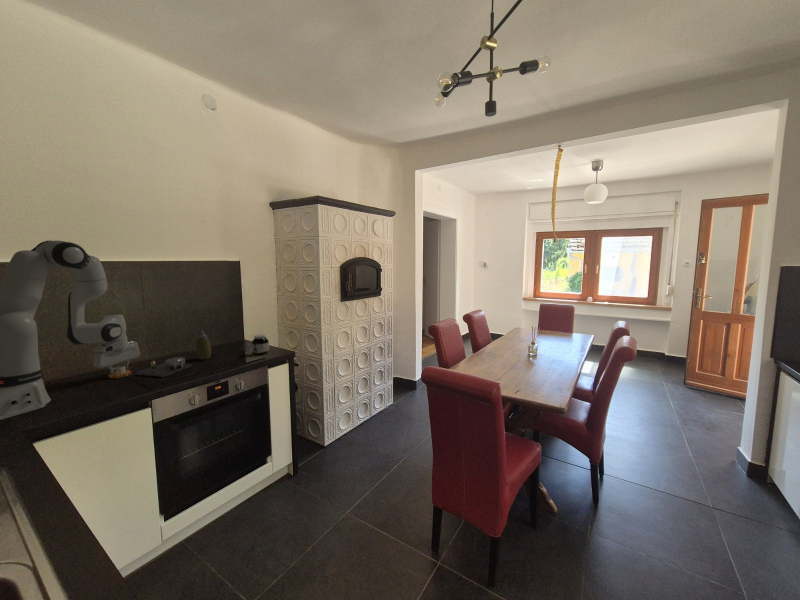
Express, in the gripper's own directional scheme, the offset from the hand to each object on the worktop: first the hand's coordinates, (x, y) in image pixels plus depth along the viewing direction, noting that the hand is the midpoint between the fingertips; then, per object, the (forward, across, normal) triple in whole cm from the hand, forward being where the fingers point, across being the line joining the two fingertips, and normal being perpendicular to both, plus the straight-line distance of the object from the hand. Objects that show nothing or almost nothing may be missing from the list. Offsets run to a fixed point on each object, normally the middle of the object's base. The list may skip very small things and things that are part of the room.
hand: (119, 370), depth 167 cm
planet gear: (+3, 0, 0) cm, 3 cm away
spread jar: (+3, -50, +44) cm, 67 cm away
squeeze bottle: (+3, -34, +19) cm, 39 cm away
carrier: (+3, -11, +16) cm, 20 cm away
